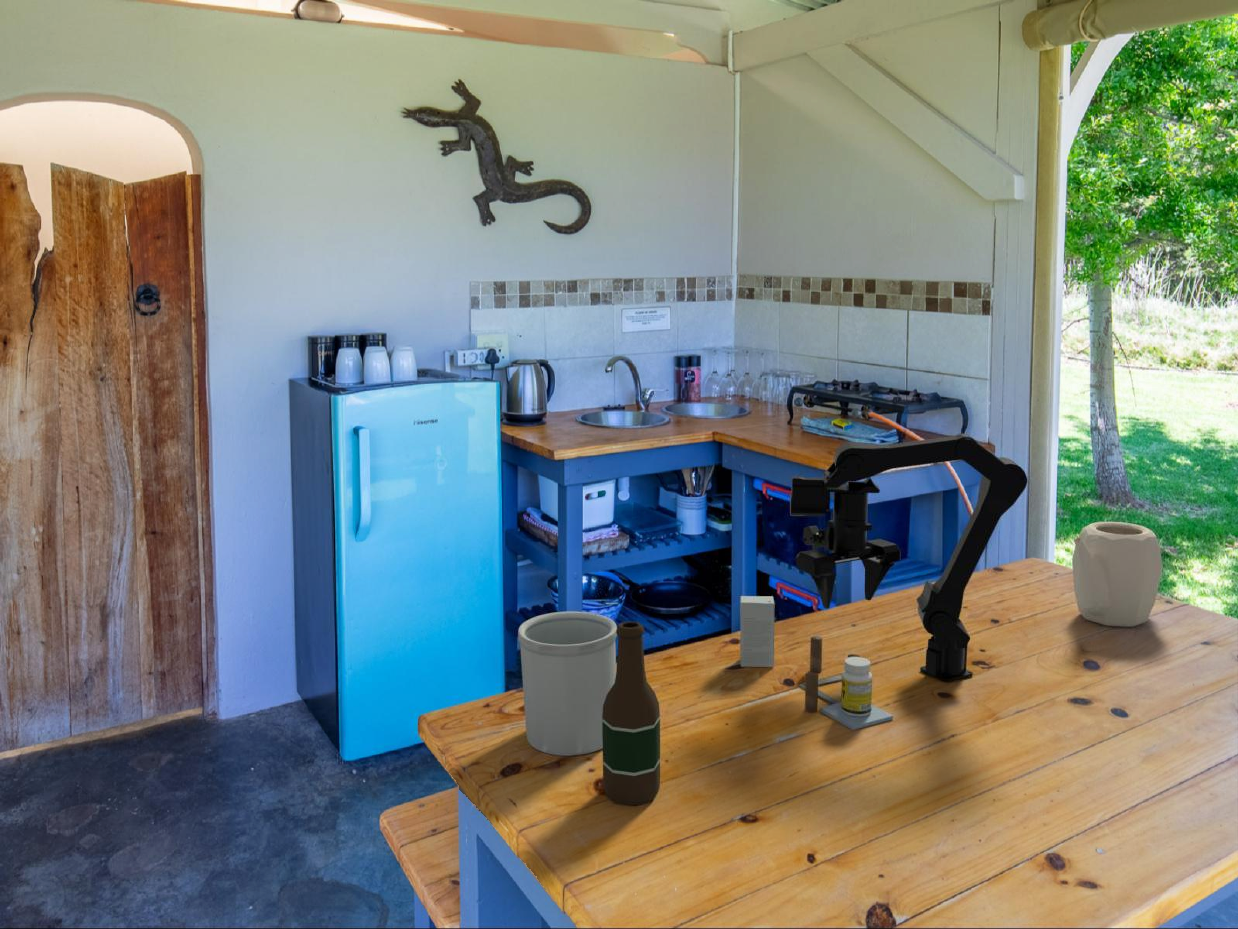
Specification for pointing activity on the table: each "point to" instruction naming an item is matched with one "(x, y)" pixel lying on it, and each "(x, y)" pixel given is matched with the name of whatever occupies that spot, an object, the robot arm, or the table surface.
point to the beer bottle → (631, 726)
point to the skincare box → (757, 631)
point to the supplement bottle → (856, 687)
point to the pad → (856, 722)
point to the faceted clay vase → (1116, 573)
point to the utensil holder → (566, 679)
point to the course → (812, 678)
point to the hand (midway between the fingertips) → (847, 604)
